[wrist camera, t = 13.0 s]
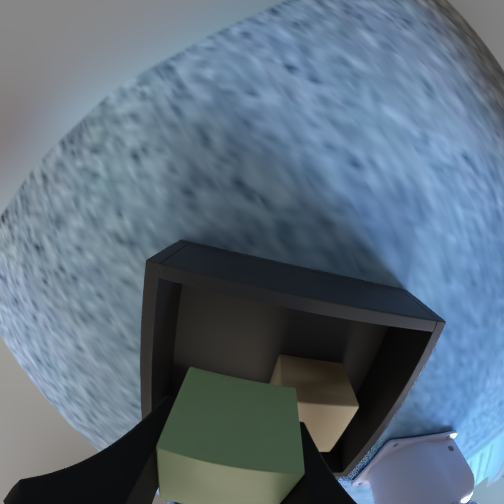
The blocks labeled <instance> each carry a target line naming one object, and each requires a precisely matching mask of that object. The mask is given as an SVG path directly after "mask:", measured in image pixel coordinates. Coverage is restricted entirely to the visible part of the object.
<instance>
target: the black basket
mask: <svg viewBox="0 0 504 504" xmlns="http://www.w3.org/2000/svg"><path fill="white" fill-rule="evenodd" d="M445 323H446V322H445V321H444V320H443V319H442V318H441V317H439V316H438V315H437V314H436V313H435V312H433V311H432V310H431V309H430V308H428V307H427V306H426V305H425V304H423V303H422V302H421V301H420V300H418V299H417V298H416V297H415V296H413V295H412V294H411V293H409V292H408V291H407V290H404V289H400V288H395V287H391V286H386V285H381V284H377V283H372V282H368V281H363V280H359V279H354V278H350V277H345V276H340V275H336V274H331V273H327V272H322V271H318V270H313V269H309V268H304V267H300V266H295V265H291V264H286V263H282V262H277V261H273V260H268V259H264V258H260V257H255V256H251V255H246V254H242V253H237V252H233V251H228V250H224V249H219V248H215V247H211V246H206V245H202V244H197V243H193V242H189V241H184V240H179V241H178V242H176V243H174V244H173V245H171V246H169V247H167V248H166V249H164V250H162V251H161V252H159V253H157V254H156V255H154V256H152V257H151V258H149V259H148V260H146V268H145V278H144V290H143V304H142V321H141V355H140V376H141V409H142V420H143V419H144V418H145V417H146V416H147V415H148V414H149V413H150V412H151V411H152V410H153V409H154V408H155V407H156V406H157V405H158V404H159V403H160V402H161V400H162V399H163V398H164V397H165V396H167V395H169V396H173V397H176V398H177V395H178V393H179V391H180V388H181V386H182V384H183V381H184V379H185V377H186V374H187V372H188V370H189V368H190V367H194V368H198V369H202V370H206V371H210V372H214V373H218V374H222V375H227V376H231V377H236V378H241V379H246V380H251V381H256V382H261V383H267V384H269V383H270V380H271V377H272V374H273V371H274V368H275V365H276V362H277V359H278V356H279V354H283V355H289V356H294V357H301V358H307V359H314V360H321V361H328V362H336V363H342V364H343V366H344V368H345V371H346V373H347V376H348V378H349V381H350V383H351V386H352V389H353V391H354V394H355V396H356V399H357V402H358V404H359V408H358V410H357V411H356V413H355V414H354V416H353V418H352V419H351V421H350V422H349V424H348V426H347V427H346V429H345V430H344V432H343V433H342V435H341V436H340V438H339V439H338V441H337V442H336V443H335V445H334V446H333V448H332V449H331V451H330V452H320V454H321V456H322V457H323V459H324V461H325V462H326V464H327V466H328V467H329V469H330V470H331V472H332V473H333V475H334V476H335V477H339V476H347V475H348V474H349V473H350V472H351V471H352V470H353V469H354V468H355V467H356V465H357V464H358V463H359V462H360V461H361V460H362V458H363V457H364V456H365V455H366V454H367V452H368V451H369V450H370V449H371V447H372V446H373V445H374V444H375V442H376V441H377V440H378V438H379V437H380V436H381V434H382V433H383V432H384V430H385V429H386V428H387V426H388V425H389V423H390V422H391V421H392V419H393V418H394V416H395V415H396V413H397V412H398V410H399V409H400V407H401V406H402V404H403V403H404V401H405V399H406V398H407V396H408V395H409V393H410V391H411V390H412V388H413V386H414V385H415V383H416V381H417V379H418V378H419V376H420V374H421V372H422V370H423V369H424V367H425V365H426V363H427V361H428V359H429V357H430V355H431V353H432V351H433V349H434V347H435V345H436V343H437V341H438V339H439V337H440V334H441V332H442V330H443V328H444V325H445Z"/></svg>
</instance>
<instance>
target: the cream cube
mask: <svg viewBox="0 0 504 504" xmlns="http://www.w3.org/2000/svg"><path fill="white" fill-rule="evenodd" d="M269 384H273V385H279V386H286V387H292V388H295V389H296V395H297V404H298V412H299V421H300V422H304V423H305V425H306V427H307V429H308V431H309V433H310V435H311V437H312V439H313V441H314V443H315V445H316V447H317V448H318V450H319V452H330V451H331V449H332V448H333V446H334V445H335V443H336V442H337V441H338V439H339V438H340V436H341V435H342V433H343V432H344V430H345V429H346V427H347V426H348V424H349V422H350V421H351V419H352V418H353V416H354V414H355V413H356V411H357V410H358V408H359V404H358V402H357V399H356V396H355V394H354V391H353V389H352V386H351V383H350V381H349V378H348V376H347V373H346V371H345V368H344V366H343V364H342V363H336V362H328V361H321V360H314V359H307V358H301V357H294V356H289V355H283V354H279V356H278V359H277V362H276V365H275V368H274V371H273V374H272V377H271V380H270V383H269Z"/></svg>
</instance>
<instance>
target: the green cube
mask: <svg viewBox="0 0 504 504" xmlns="http://www.w3.org/2000/svg"><path fill="white" fill-rule="evenodd" d="M156 452H157V471H158V484H159V495H160V497H161V498H164V499H167V500H170V501H174V502H178V503H181V504H280V503H281V502H282V501H283V500H284V498H285V497H286V496H287V495H288V494H289V493H290V491H291V490H292V489H293V488H294V486H295V485H296V484H297V483H298V481H299V480H300V479H301V478H302V476H303V475H304V473H305V469H304V459H303V449H302V440H301V430H300V421H299V412H298V404H297V395H296V389H295V388H292V387H286V386H279V385H273V384H267V383H261V382H256V381H251V380H246V379H241V378H236V377H231V376H227V375H222V374H218V373H214V372H210V371H206V370H202V369H198V368H194V367H190V368H189V370H188V372H187V374H186V377H185V379H184V381H183V384H182V386H181V388H180V391H179V393H178V395H177V398H176V400H175V403H174V405H173V407H172V410H171V412H170V414H169V417H168V419H167V422H166V424H165V426H164V429H163V431H162V434H161V436H160V438H159V441H158V443H157V446H156Z"/></svg>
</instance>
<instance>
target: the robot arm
mask: <svg viewBox="0 0 504 504" xmlns="http://www.w3.org/2000/svg"><path fill="white" fill-rule="evenodd" d="M175 400H176V397H173V396H169V395H167V396H165V397H164V398H163V399H162V400H161V402H160V403H159V404H158V405H157V406H156V407H155V408H154V409H153V410H152V411H151V412H150V413H149V414H148V415H147V416H146V417H145V418H144V419H143V420H142V421H141V422H140V423H139V424H137V425H136V426H135V427H134V428H133V429H132V430H130V431H129V432H128V433H127V434H125V435H124V436H123V437H121V438H120V439H119V440H117V441H116V442H115V443H113V444H112V445H110V446H109V447H107V448H106V449H104V450H102V451H101V452H99V453H97V454H95V455H94V456H92V457H90V458H88V459H86V460H84V461H82V462H79V463H77V464H75V465H73V466H70V467H67V468H64V469H61V470H58V471H55V472H53V473H49V474H45V475H41V476H36V477H31V478H26V479H21V480H19V482H18V483H17V484H16V485H14V487H13V488H12V489H11V491H10V492H9V493H8V495H7V497H6V498H5V499H4V504H152V502H153V499H154V496H155V494H156V491H157V489H158V487H159V484H158V471H157V452H156V446H157V443H158V441H159V438H160V436H161V434H162V431H163V429H164V426H165V424H166V422H167V419H168V417H169V414H170V412H171V410H172V407H173V405H174V403H175ZM300 430H301V440H302V449H303V459H304V469H305V473H304V475H303V476H302V478H301V479H300V480H299V481H298V483H297V484H296V485H295V486H294V488H293V489H292V490H291V491H290V493H289V494H288V495H287V496H286V497H285V498H284V500H283V501H282V502H281V503H280V504H357V503H356V502H355V501H354V500H353V499H352V498H351V497H350V496H349V494H348V493H347V492H346V491H345V490H344V488H343V487H342V486H341V484H340V483H339V482H338V480H337V479H336V478H335V476H334V475H333V473H332V472H331V470H330V469H329V467H328V466H327V464H326V462H325V461H324V459H323V457H322V456H321V454H320V452H319V450H318V448H317V447H316V445H315V443H314V441H313V439H312V437H311V435H310V433H309V431H308V429H307V427H306V425H305V423H304V422H300ZM456 435H457V432H456V430H454V431H450V432H444V433H439V434H433V435H427V436H420V437H412V438H404V439H393V440H389V441H388V442H387V443H386V444H385V445H384V446H383V447H382V449H381V450H380V451H379V452H378V453H377V455H376V456H375V457H374V458H373V459H372V460H371V462H370V463H369V464H368V465H367V466H366V467H365V468H364V469H363V471H362V472H361V473H360V474H359V475H358V476H357V477H356V478H355V479H354V480H353V481H352V482H351V485H352V486H362V485H370V488H371V492H372V496H373V499H374V503H375V504H480V503H479V502H478V501H471V500H469V498H470V497H471V495H472V493H473V489H474V476H473V473H472V471H471V469H470V467H469V465H468V464H467V462H466V460H465V458H464V457H463V455H462V453H461V451H460V450H459V448H458V446H457V445H456V443H455V441H454V440H453V438H454V437H455V436H456ZM468 500H469V501H468ZM467 501H468V502H467Z"/></svg>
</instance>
